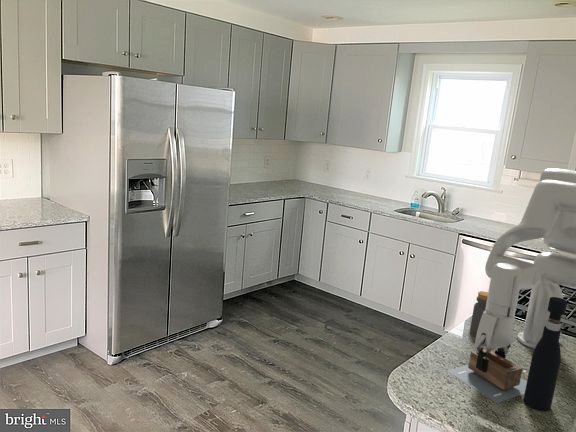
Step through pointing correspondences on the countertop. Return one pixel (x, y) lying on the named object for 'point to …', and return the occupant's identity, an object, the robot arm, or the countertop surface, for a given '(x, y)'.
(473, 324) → the bottle
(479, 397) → the countertop surface
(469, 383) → the board
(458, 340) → the countertop surface
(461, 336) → the countertop surface
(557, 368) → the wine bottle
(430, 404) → the countertop surface
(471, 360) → the frame
